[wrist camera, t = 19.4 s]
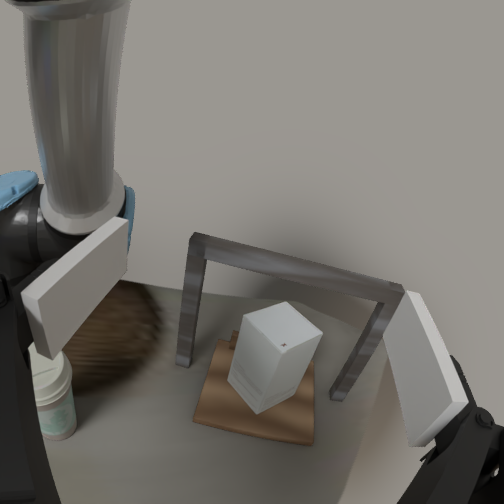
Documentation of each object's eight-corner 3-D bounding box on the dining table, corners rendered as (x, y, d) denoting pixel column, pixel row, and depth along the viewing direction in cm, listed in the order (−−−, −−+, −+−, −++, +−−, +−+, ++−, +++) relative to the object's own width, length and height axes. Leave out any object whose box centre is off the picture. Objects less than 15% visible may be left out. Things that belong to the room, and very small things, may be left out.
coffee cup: (23, 445, 26) (-13, 388, 20) (31, 392, 33) (7, 329, 27) (86, 453, 29) (64, 399, 23) (88, 398, 36) (73, 335, 30)
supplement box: (295, 395, 44) (326, 333, 38) (255, 416, 39) (281, 353, 33) (264, 363, 48) (287, 299, 43) (225, 379, 44) (242, 313, 38)
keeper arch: (344, 449, 37) (427, 342, 27) (156, 410, 37) (159, 280, 28) (339, 370, 51) (392, 265, 42) (188, 335, 52) (205, 217, 42)
